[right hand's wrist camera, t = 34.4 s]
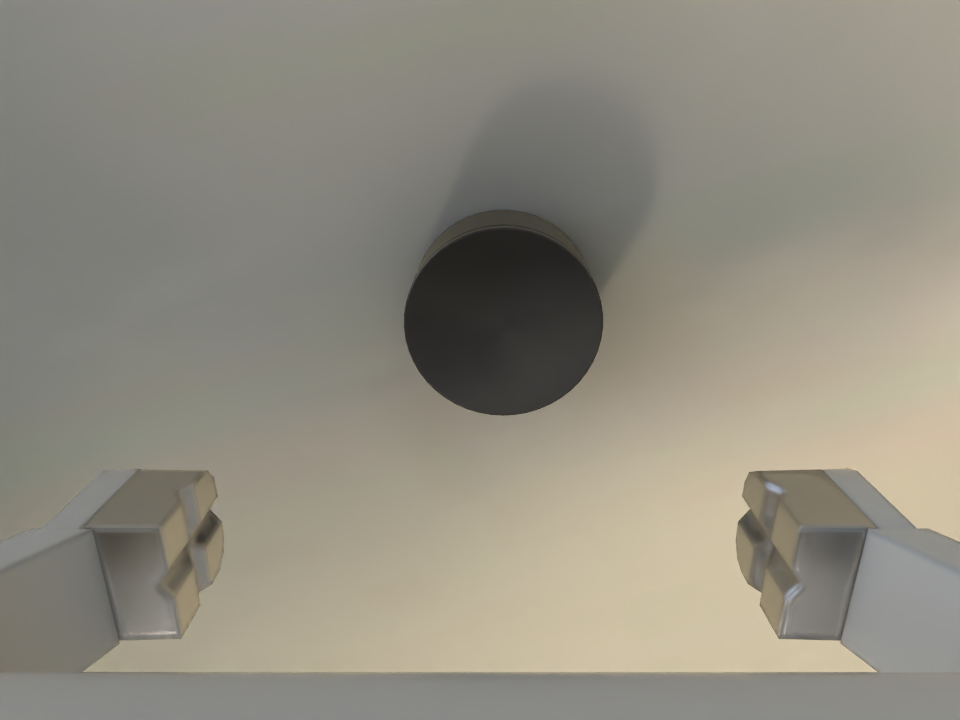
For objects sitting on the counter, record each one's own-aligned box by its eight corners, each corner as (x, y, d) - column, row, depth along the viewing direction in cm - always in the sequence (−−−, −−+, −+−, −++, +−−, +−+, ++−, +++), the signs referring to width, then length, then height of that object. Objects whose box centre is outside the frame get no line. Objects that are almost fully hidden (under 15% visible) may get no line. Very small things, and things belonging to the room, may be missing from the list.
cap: (381, 313, 18) (365, 344, 16) (485, 171, 16) (483, 184, 14) (517, 407, 19) (519, 448, 17) (627, 281, 17) (645, 309, 15)
